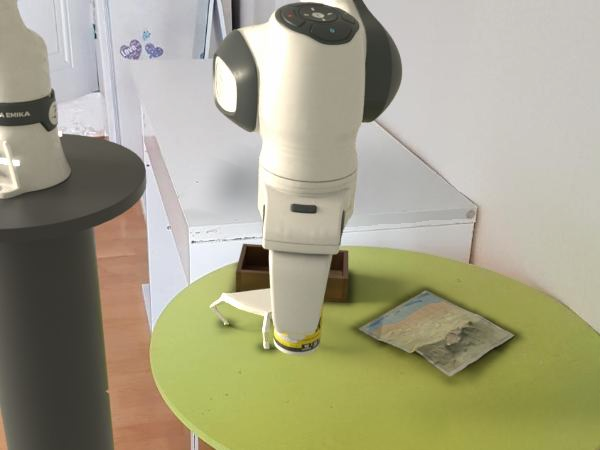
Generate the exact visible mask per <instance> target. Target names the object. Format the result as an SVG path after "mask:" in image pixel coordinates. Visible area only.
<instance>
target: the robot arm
mask: <svg viewBox="0 0 600 450" xmlns="http://www.w3.org/2000/svg"><path fill="white" fill-rule="evenodd" d="M18 6H19V5H18V0H0V199H7V198H12V197H15V196H17V195H20V194H23V193H26V192H32V191H37V190H42V189H46V188H49V187H52V186H54V185H57V184H59V183H61V182H63V181H64V180H66V179H67V178H68V177H69V175H70V173H71V169H70V167H69V164H68V162H67V160H66V157H65V154H64V152H63V148H62V145H61V141H60V137H59V136H62V134H63V132H62V131H61V130H59V129H58V123H59V110H58V104H57V99H56V92H55V90H54V88H52V80H51V79H52V78H51V72H50V62H49V54H48V46H47V43H46V41H45V40H44V38H43V37H42V36H41V35H40V34H39V33H37V32H36V31H35V30H33V29H30V28H28V27H27V26H26V24H25V22H24V20H23V18H22V16H21V13H20V10H19V7H18ZM402 79H403V64H402V58H401V54H400V51H399V49H398V47H397V45H396V43H395V40H394V39H393V37H392V36H391V34H390V33H389V32H388V30H387V29H386V28H385V26H383V24H382V23H381V22H380V21H379V20H378V19H377V17H376V16H374V14H373V13H372V12H371V10H370V9H369V8H368V6H367V5H366V4H365V2H364V1H363V0H299V1H298V2H297V1H296V2H292V3H287V4H284V5H282V6H280V7H277V8H276V10H274V11H273V12H272V14H271V15H270V17H269V19H268V21H267V22H263V23H260V24H259V23H258V24H254V25H249V26H248V25H247V26H244V27H240V28H237V29H236V28H234V29H233V30H231V31H230V32H229V33H228V34H227V35H226V36H225V37H224V38H223V40H222V41H220V44H218V47H217V49H216V50H215V51H214V53H213V56H212V93H213V101H214V105H215V107H216V108H217V110H218V111H219V112H220V113H221V114H222V115H223V116H224V117H226V118H227V120H229V121H230V122H232V123H233V124H235V125H236V126H238V127H239V128H241V129H243V130H244V131H245V132H248V133H257V134H258V135H259V136H260V137H261V141H262V144H261V145H262V146H261V150H260V153H259V158H258V180H257V182H258V183H257V187H258V188H257V209H258V211H259V214H260V218H261V222H262V230H261V233H262V234H261V241H262V242H261V245H262V246H263V248H264V249H268V250H269V273H270V292H271V308H272V319H271V320H272V324H273V328H274V327H275V330H276V331H277V332H279V333H284V334H287V337H288V338H289V339H294V340H303V339H305V337H306V335H312V334H314V333H315V331H316V329H317V326H318V323H319V319H320V315H321V310H322V305H323V306H324V303H323V300H324V295H325V290H326V285H327V280H328V275H329V270H330V265H331V260H332V255H333V254H338V252H339V250H340V246H341V243H342V237H343V233H344V230H345V228H346V226H347V225H348V222H349V220H350V219H351V218H352V216H353V215H354V210H355V199H356V189H357V188H356V187H357V178H358V168H359V156H358V152H357V145H356V144H357V143H356V142H357V141H356V140H357V135H358V133H359V129H360V128H361V125H362V123H365V124H367V123H373V122H374V121H376V120H377V119H378V118H379V117H380V116H381V115H382V114H383V113H384V112H385V111H386V110H387V109H388V108H389V106H391V104H392V102H393V101H394V100H395V97H396V95H397V94H398V92H399V90H400V87H401V84H402Z"/></svg>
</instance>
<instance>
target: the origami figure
mask: <svg viewBox="0 0 600 450" xmlns="http://www.w3.org/2000/svg"><path fill="white" fill-rule="evenodd" d="M226 303H227V304H229V305H231V306H233V307H235V308H237V309H239V310H241V311H244V312H247V313H249V314H255V315H258V316H262V317H263V323H262V341H263V349H265V350H269V349H270V328H271V320H273V319H272V308H271V292H270V288H269V289H261V290H253V291H245V292H236V291H235V292H222V294H221V295H220V297H219V298H218V299H217V300H215V301H214V302H213V303H211V304H210V305H209V309H210V310H211V311H212V312H213V313H214V314H216V316H217V317H218V318H219V319H220V321H222V323H223V325H224V326H229V324H230V323H229V322H228V320H227V319H226V318H225V316H224V315H223V313H221V312H220V310H219V309H218V308H217V307H220V306H221V305H223V304H226Z"/></svg>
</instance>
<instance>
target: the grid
mask: <svg viewBox="0 0 600 450" xmlns="http://www.w3.org/2000/svg"><path fill="white" fill-rule="evenodd" d="M269 288H270V273H269V250H268V249H264V248H263V246H262V244H256V243H255V244H254V243H242V246H241V250H240V253H239V258H238V262H237V265H236V270H235V293H236V292H245V291H253V290H261V289H269ZM348 291H349V250H347V249H346V250H345V249H339V252H338V254H333V255H332V260H331V265H330V270H329V275H328V280H327V285H326V290H325V295H324V302H337V303H338V302H339V303H347V302H348V301H347V300H348Z"/></svg>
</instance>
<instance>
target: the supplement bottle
mask: <svg viewBox="0 0 600 450" xmlns="http://www.w3.org/2000/svg"><path fill="white" fill-rule="evenodd" d="M324 304H325V301H324V300H323V305H322V310H321V315H320V319H319V323H318V326H317V329H316V331H315V333H314V334H312V335H306V337H305V339H303V340H294V339H289V338H288V337H287V334H284V333H279V332H277V331H276V330H275V327H274V326H273V329H274V330H273V343H274V346H275V348H276V349H278V350H279V351H280V352H281V353H284V354H286V355H289V356H290V355H291V356H297V357H301V356H303V357H304V356H307V355H310V354H312V353H314V352H315V351H316V350H317V349H318V348H319V347H320V344H321V336H322V326H323V325H322V324H323V322H322V321H323V314H324V313H323V312H324Z"/></svg>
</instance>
